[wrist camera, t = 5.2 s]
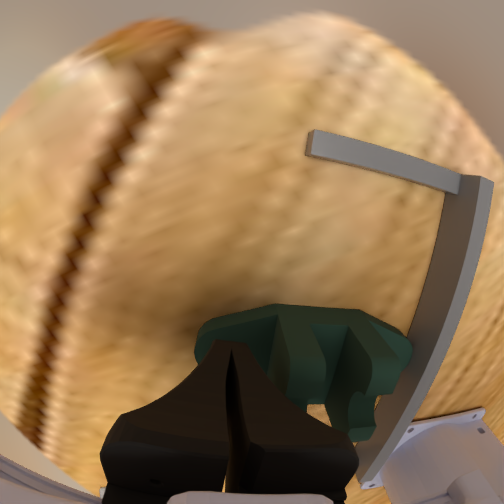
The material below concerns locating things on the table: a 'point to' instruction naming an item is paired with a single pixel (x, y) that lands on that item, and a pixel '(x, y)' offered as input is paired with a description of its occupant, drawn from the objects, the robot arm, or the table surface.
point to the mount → (320, 357)
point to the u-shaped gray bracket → (436, 286)
